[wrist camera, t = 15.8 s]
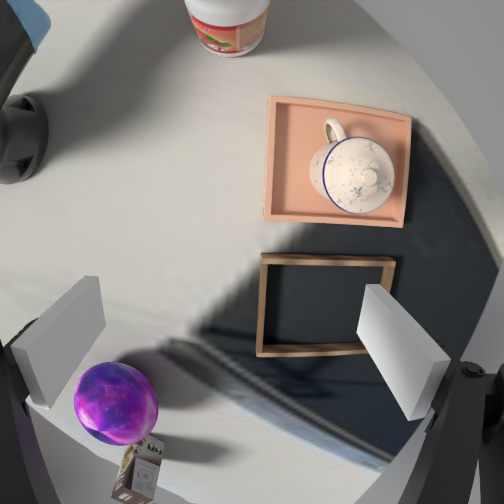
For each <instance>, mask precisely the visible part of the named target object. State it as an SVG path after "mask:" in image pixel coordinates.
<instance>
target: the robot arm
mask: <svg viewBox="0 0 504 504" xmlns="http://www.w3.org/2000/svg"><path fill="white" fill-rule="evenodd" d="M50 26H51V20H50V18H49V16H48V14H47V13H46V12H45V11H44V10H43V9H42V8H41V7H40V6H39V5H38V4H37V3H36V2H35V1H34V0H0V183H1V184H14V183H18V182H22V181H24V180H25V179H27V178H28V177H30V176H31V175H32V174H33V173H34V171H35V170H36V169H37V167H38V166H39V164H40V162H41V160H42V158H43V155H44V152H45V149H46V145H47V139H48V123H47V118H46V114H45V111H44V109H43V107H42V106H41V104H40V103H39V102H38V101H37V100H36V99H34V98H32V97H29V96H24V95H12V96H9V94H10V92H11V90H12V88H13V87H14V85H15V83H16V81H17V80H18V78H19V76H20V75H21V73H22V71H23V70H24V68H25V67H26V65H27V63H28V62H29V60H30V59H31V57H32V56H33V54H35V53H36V52H37V50H38V47H39V45H40V43H41V42H42V40H43V39H44V37H45V36H46V34H47V33H48V31H49V29H50ZM8 96H9V97H8ZM105 326H106V323H105V317H104V311H103V305H102V299H101V293H100V286H99V278H98V277H96V276H84V277H83V278H82V279H81V280H80V281H79V282H78V283H76V284H75V285H74V286H73V287H72V288H71V289H70V290H69V291H67V292H66V293H65V294H64V295H63V296H62V297H61V298H60V299H59V300H57V301H56V302H55V303H54V304H53V305H52V306H51V307H50V308H49V309H48V310H47V311H46V312H44V313H43V314H42V315H41V316H40V317H39V318H37V319H35V320H33V321H31V322H29V323H28V324H27V325H26V326H25V327H24V328H23V330H21V331H20V332H19V333H17V335H15V336H14V337H13V338H12V339H11V340H10V341H9V342H8V343H7V344H6V345H5V346H4V347H3V346H2V343H1V340H0V504H61V503H60V501H59V498H58V496H57V494H56V491H55V489H54V487H53V484H52V481H51V479H50V476H49V474H48V471H47V469H46V466H45V463H44V460H43V457H42V454H41V451H40V448H39V445H38V441H37V438H36V435H35V432H34V427H33V424H32V420H31V416H30V412H29V408H28V405H27V403H26V401H25V399H26V398H27V396H28V395H29V394H30V396H31V399H32V401H33V403H34V405H35V406H38V407H42V408H45V409H48V410H50V409H51V407H52V406H53V404H54V402H55V401H56V399H57V398H58V396H59V395H60V393H61V391H62V390H63V388H64V387H65V385H66V384H67V382H68V380H69V379H70V377H71V376H72V374H73V373H74V371H75V370H76V368H77V367H78V365H79V364H80V362H81V361H82V359H83V358H84V356H85V355H86V353H87V352H88V350H89V349H90V348H91V346H92V345H93V343H94V342H95V340H96V339H97V337H98V336H99V335H100V333H101V332H102V330H103V329H104V328H105ZM357 334H358V336H359V337H360V339H361V341H362V342H363V344H364V346H365V347H366V349H367V350H368V352H369V354H370V355H371V357H372V359H373V360H374V362H375V364H376V366H377V367H378V369H379V371H380V372H381V374H382V376H383V377H384V379H385V381H386V382H387V384H388V386H389V388H390V389H391V391H392V393H393V395H394V396H395V398H396V400H397V402H398V403H399V405H400V407H401V409H402V410H403V412H404V414H405V416H406V417H407V419H408V421H410V420H415V419H419V418H423V417H425V416H426V414H427V412H428V410H429V408H430V406H431V407H432V408H433V410H434V411H435V413H434V415H433V417H432V419H431V421H430V423H429V425H428V426H427V428H426V430H425V432H426V433H427V434H426V437H425V440H424V443H423V446H422V449H421V451H420V454H419V456H418V459H417V461H416V464H415V466H414V469H413V471H412V474H411V476H410V478H409V481H408V483H407V485H406V487H405V490H404V492H403V494H402V496H401V498H400V500H399V502H398V504H468V501H469V497H470V493H471V489H472V485H473V481H474V476H475V471H476V466H477V461H478V459H479V474H480V493H481V504H504V364H502V365H501V367H500V369H499V371H498V373H497V374H486V373H485V371H484V369H483V368H482V367H480V366H479V365H477V364H475V363H473V362H467V361H465V362H461V361H460V360H459V359H458V358H457V357H456V355H455V354H454V353H453V352H452V351H451V350H450V349H449V348H448V347H446V345H445V344H444V343H443V342H441V339H440V338H439V337H438V336H437V335H436V334H435V333H433V332H431V331H430V330H428V329H426V328H422V327H421V326H420V325H419V324H418V323H417V322H416V321H415V320H414V319H413V318H412V317H411V316H410V314H409V313H408V312H407V311H406V310H405V309H404V308H403V307H402V306H401V305H400V304H399V303H398V302H397V301H396V300H395V299H394V298H393V297H392V296H391V295H390V294H389V293H388V292H387V291H386V290H385V289H384V288H383V287H382V286H381V285H380V284H366V289H365V294H364V299H363V305H362V310H361V315H360V319H359V324H358V329H357Z"/></svg>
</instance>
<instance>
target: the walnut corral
mask: <svg viewBox="0 0 504 504" xmlns="http://www.w3.org/2000/svg"><path fill="white" fill-rule="evenodd" d="M268 264H290V265H336V266H384V267H383V273H382V278H381V283H380V285H381V286H382V287H383V288H384V289H385V290H386V291H387V292H388V293H389V294H390V290H391V285H392V280H393V275H394V270H395V264H396V261H394V260H393V259H392V258H390V257H380V256H344V255H309V254H274V253H261V266H260V285H259V303H258V321H257V338H256V356H257V357H302V356H329V355H347V354H362V353H369V352H368V350H367V349H366V347H365V346H364V344H363V342H354V343H334V344H302V345H262V344H263V330H264V315H265V299H266V284H267V267H268Z"/></svg>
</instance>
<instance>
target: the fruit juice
mask: <svg viewBox="0 0 504 504" xmlns="http://www.w3.org/2000/svg"><path fill="white" fill-rule="evenodd" d="M270 1H271V0H184V2H185V5H186V7H187V9H188V12H189V15H190V18H191V20H192V23H193V26H194V28H195V31H196V34H197V37H198V39H199V41H200V43H201V44H202V45H203V47H204V48H205V49H207V50H208V51H209V52H211V53H213V54H215V55H218V56H222V57H237V56H241V55H244V54H246V53H248V52H250V51H251V50H253V49H254V48H255V47H256V46H257V45H258V44H259V42H260V41H261V39H262V37H263V34H264V30H265V25H266V20H267V15H268V10H269V5H270Z"/></svg>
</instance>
